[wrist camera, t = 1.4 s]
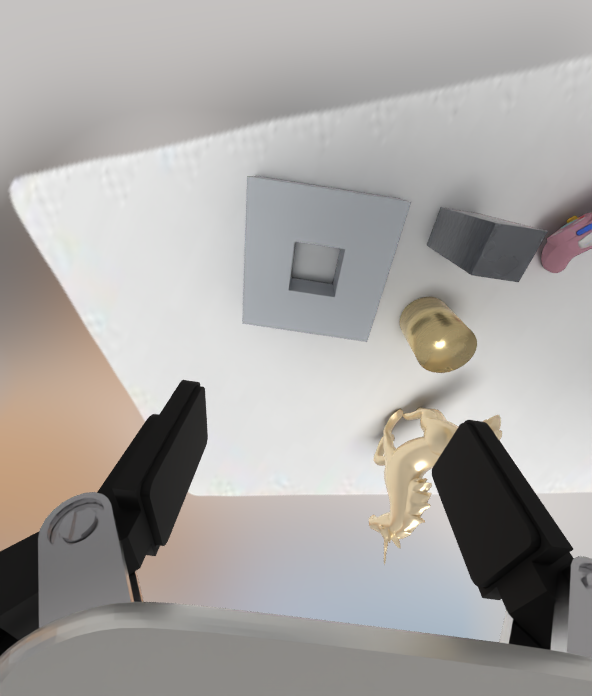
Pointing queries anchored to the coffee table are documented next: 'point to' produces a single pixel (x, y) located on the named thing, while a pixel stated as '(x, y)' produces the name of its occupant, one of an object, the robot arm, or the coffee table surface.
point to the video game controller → (567, 243)
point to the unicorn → (412, 470)
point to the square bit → (485, 243)
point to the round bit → (437, 335)
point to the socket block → (325, 230)
